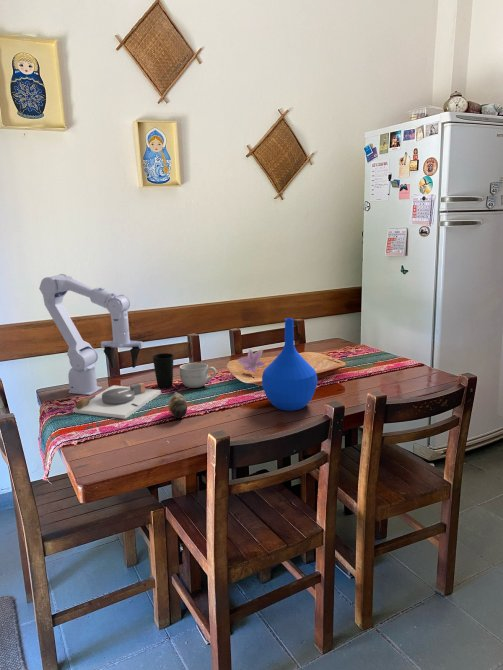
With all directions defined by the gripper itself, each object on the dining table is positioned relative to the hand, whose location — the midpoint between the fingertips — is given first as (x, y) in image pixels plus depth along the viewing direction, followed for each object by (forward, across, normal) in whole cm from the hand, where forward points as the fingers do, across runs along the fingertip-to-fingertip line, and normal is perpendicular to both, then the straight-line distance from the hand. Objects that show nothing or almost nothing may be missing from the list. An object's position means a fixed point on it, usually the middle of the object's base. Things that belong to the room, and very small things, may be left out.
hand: (123, 366), depth 186 cm
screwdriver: (+9, -10, -13) cm, 19 cm away
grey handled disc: (+9, +2, -7) cm, 11 cm away
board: (+10, 0, -8) cm, 13 cm away
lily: (+10, +45, +23) cm, 51 cm away
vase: (+10, +59, -11) cm, 61 cm away
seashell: (+10, +24, -21) cm, 33 cm away
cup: (+10, +13, +8) cm, 18 cm away
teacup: (+10, +25, +9) cm, 29 cm away
